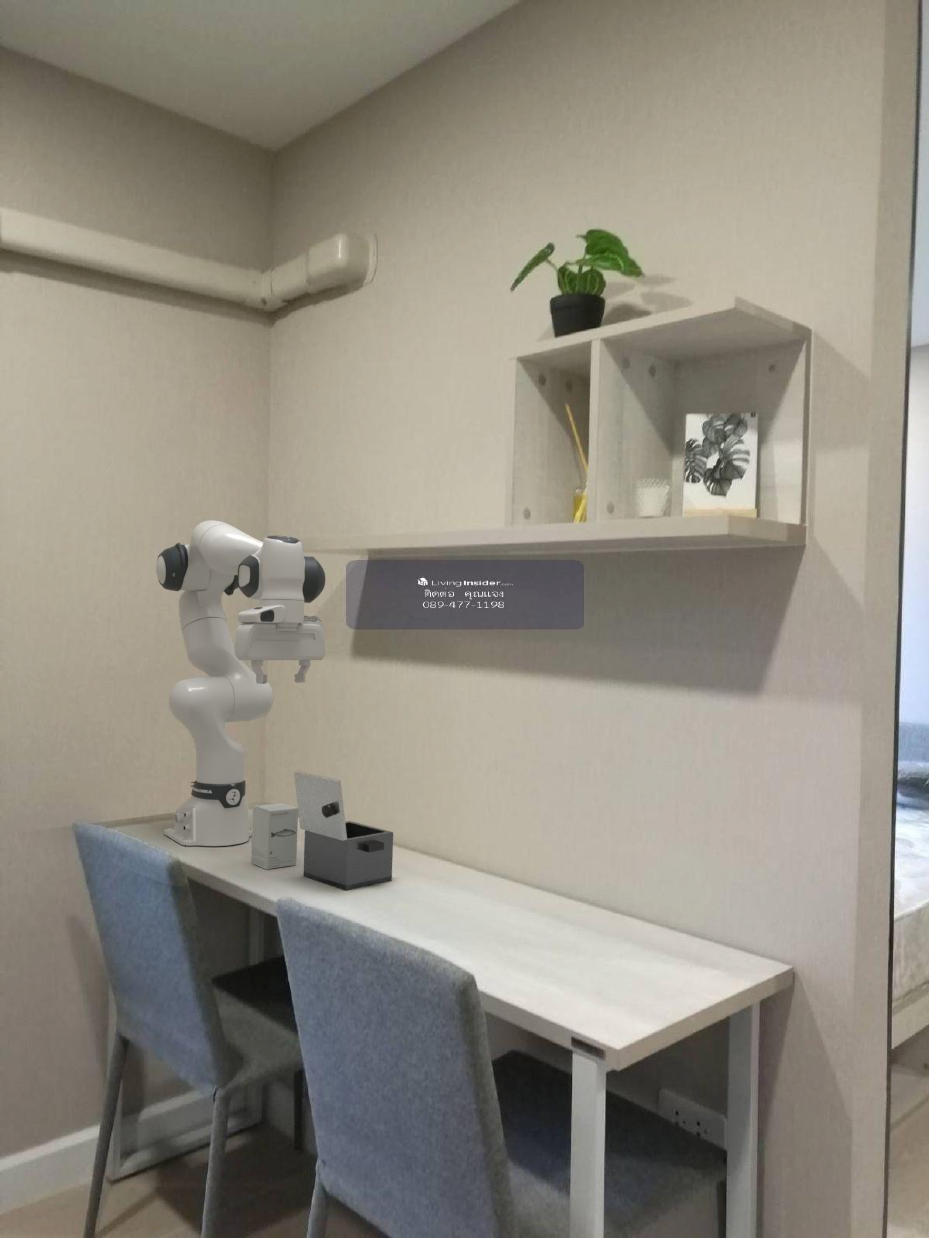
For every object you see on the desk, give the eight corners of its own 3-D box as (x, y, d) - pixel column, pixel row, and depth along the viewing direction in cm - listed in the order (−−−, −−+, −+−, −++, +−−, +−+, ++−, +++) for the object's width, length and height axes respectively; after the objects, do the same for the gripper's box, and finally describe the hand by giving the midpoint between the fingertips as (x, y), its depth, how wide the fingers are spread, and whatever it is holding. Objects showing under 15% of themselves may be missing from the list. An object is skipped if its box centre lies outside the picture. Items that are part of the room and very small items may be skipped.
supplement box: (266, 870, 208) (268, 810, 208) (250, 863, 214) (252, 804, 214) (297, 865, 213) (299, 807, 213) (280, 858, 219) (282, 801, 219)
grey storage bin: (298, 874, 206) (299, 826, 206) (343, 865, 214) (344, 819, 214) (352, 892, 194) (353, 841, 194) (397, 882, 202) (399, 833, 202)
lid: (304, 827, 204) (294, 830, 203) (297, 771, 203) (287, 774, 201) (347, 839, 195) (336, 843, 193) (340, 780, 193) (330, 783, 191)
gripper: (313, 616, 210) (312, 681, 210) (230, 613, 195) (229, 683, 195) (332, 616, 206) (331, 682, 205) (249, 613, 191) (247, 684, 191)
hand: (281, 683), depth 200 cm, fingers open, 8 cm apart
